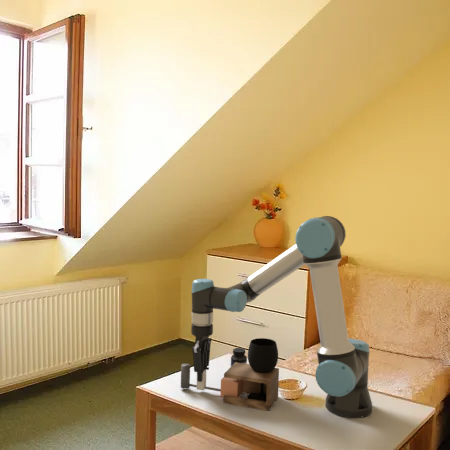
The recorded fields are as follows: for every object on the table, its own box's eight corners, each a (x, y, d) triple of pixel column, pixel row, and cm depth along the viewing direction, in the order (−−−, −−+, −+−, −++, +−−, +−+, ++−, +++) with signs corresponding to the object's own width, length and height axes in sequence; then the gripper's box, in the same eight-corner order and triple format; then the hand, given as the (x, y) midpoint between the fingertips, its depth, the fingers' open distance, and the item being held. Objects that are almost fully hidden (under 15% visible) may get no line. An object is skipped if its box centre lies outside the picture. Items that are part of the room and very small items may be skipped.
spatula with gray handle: (242, 393, 183) (243, 371, 183) (237, 399, 178) (237, 377, 177) (184, 383, 191) (184, 361, 190) (177, 389, 185) (178, 367, 184)
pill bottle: (228, 375, 201) (228, 347, 200) (243, 374, 203) (244, 346, 202) (233, 381, 195) (234, 352, 194) (248, 380, 197) (249, 351, 196)
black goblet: (261, 407, 174) (262, 348, 172) (240, 397, 182) (241, 340, 180) (283, 399, 180) (284, 343, 179) (262, 390, 188) (263, 335, 187)
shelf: (278, 396, 182) (279, 368, 182) (269, 410, 171) (270, 380, 170) (234, 390, 188) (235, 362, 187) (223, 403, 176) (224, 373, 175)
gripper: (199, 317, 191) (198, 380, 193) (184, 327, 178) (183, 394, 180) (218, 319, 189) (218, 383, 191) (204, 329, 176) (204, 397, 178)
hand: (201, 388), depth 185 cm, fingers closed on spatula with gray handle
